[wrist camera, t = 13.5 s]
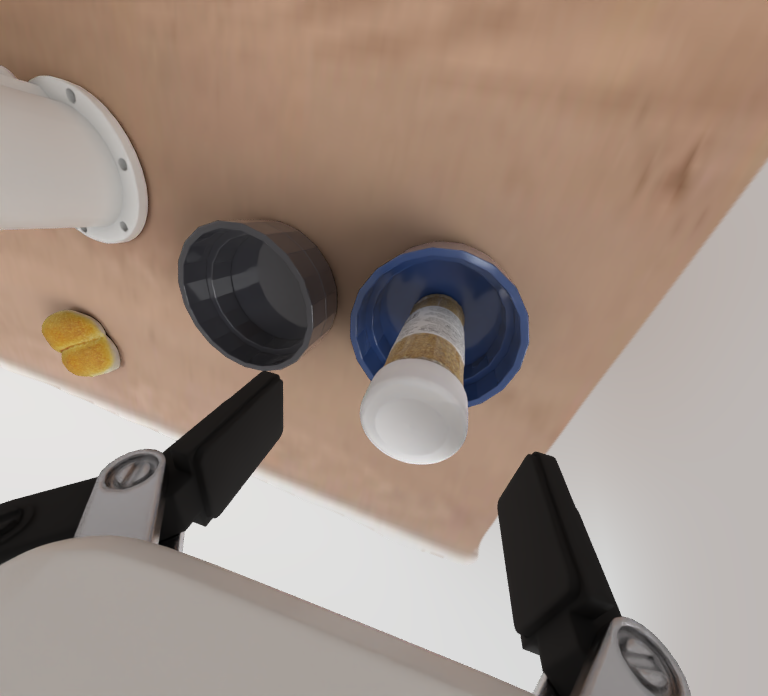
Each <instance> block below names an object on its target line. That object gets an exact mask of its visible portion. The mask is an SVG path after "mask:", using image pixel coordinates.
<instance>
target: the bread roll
mask: <svg viewBox="0 0 768 696" xmlns="http://www.w3.org/2000/svg"><path fill="white" fill-rule="evenodd" d="M42 333H43V335H44V337H45V338H46V340H47V341H48V343H49V344H50V346H51V347H52V348H53V349H54V350H56V351H58V352H60V353H62V362H63V364H64V365H65V367H66V368H67V369H68V371H70V372H72V373H73V374H75V375H78V376H90V377H93V376H97V375H102V374H105V373H109V372H111V371H113V370H116V369H118V368H119V366H120V361H121V360H120V355H119V352H118V350H117V348H116V346H115V345H114V343H113V342H112V341H111V339H110V338H109V337H107V336H106V334H105V331H104V329H103V327H102V326H101V324H100V323H99V322H98V321H97V320H95V319H93V318H92V317H90V316H87V315H85V314H82V313H79V312H77V311H74V310H63V311H59V312H56V313H54V314H52V315H50V316H49V317H47V319H46V320H45V321H44V323H43V325H42Z"/></svg>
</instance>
